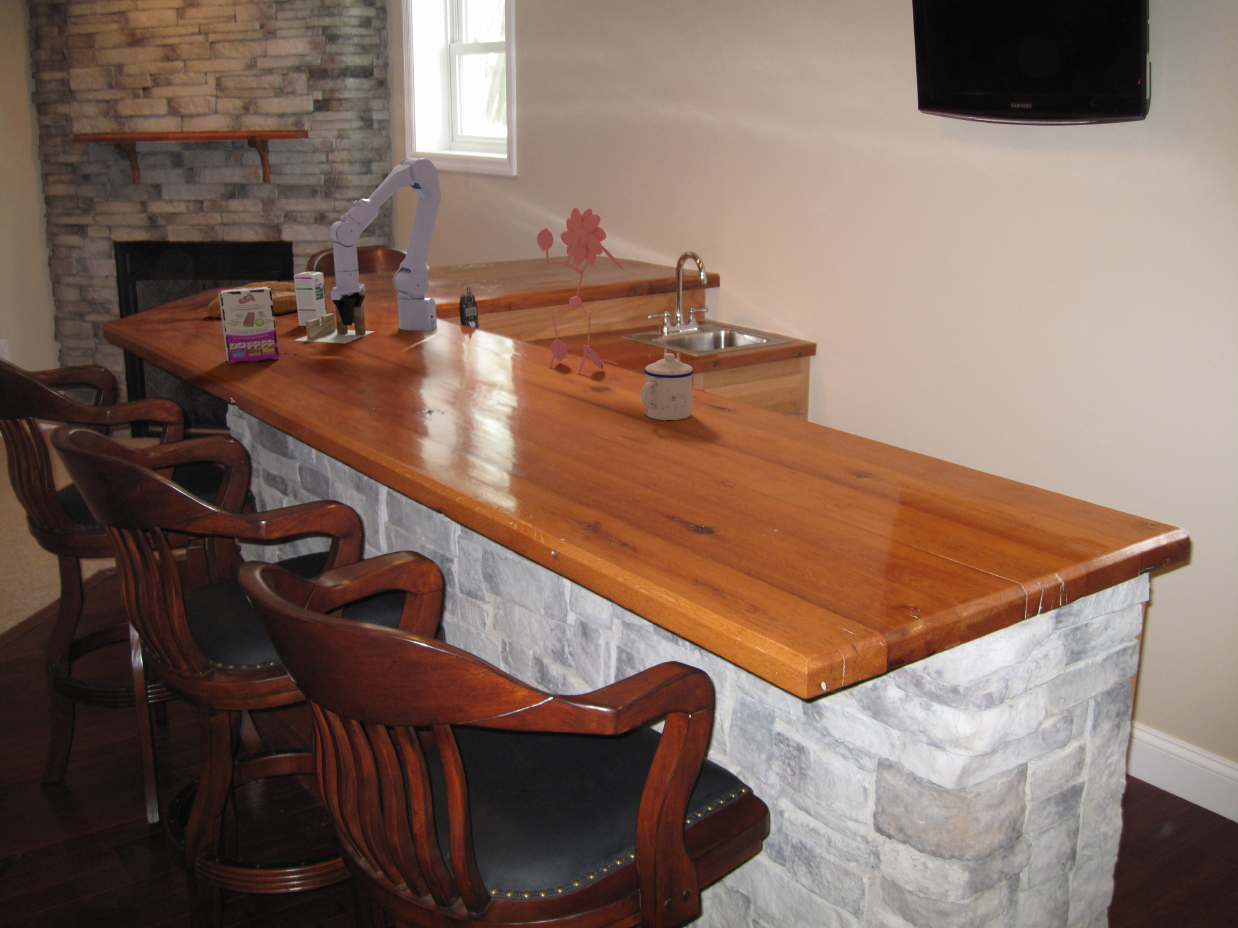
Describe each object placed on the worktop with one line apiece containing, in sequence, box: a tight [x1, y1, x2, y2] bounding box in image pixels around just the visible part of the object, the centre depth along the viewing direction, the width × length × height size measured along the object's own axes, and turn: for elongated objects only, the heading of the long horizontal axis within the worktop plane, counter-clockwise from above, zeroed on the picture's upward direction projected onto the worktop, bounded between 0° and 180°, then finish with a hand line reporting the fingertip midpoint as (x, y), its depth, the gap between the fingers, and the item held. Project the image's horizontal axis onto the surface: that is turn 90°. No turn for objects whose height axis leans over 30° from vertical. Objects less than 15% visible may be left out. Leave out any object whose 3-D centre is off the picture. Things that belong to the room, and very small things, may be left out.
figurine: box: [536, 207, 624, 378], centre depth 226 cm, size 15×26×35 cm, turn 49°
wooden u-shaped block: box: [305, 313, 336, 340], centre depth 258 cm, size 1×12×5 cm, turn 167°
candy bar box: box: [217, 287, 280, 365], centre depth 232 cm, size 11×5×16 cm, turn 118°
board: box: [293, 328, 375, 344], centre depth 258 cm, size 14×16×1 cm
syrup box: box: [293, 271, 328, 327], centre depth 272 cm, size 6×6×14 cm
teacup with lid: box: [640, 352, 694, 421], centre depth 188 cm, size 12×9×12 cm
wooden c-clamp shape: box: [334, 306, 367, 336], centre depth 259 cm, size 7×2×7 cm, turn 77°
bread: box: [205, 280, 298, 319], centre depth 296 cm, size 18×35×9 cm, turn 138°
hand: (350, 324), depth 260 cm, fingers open, 3 cm apart
